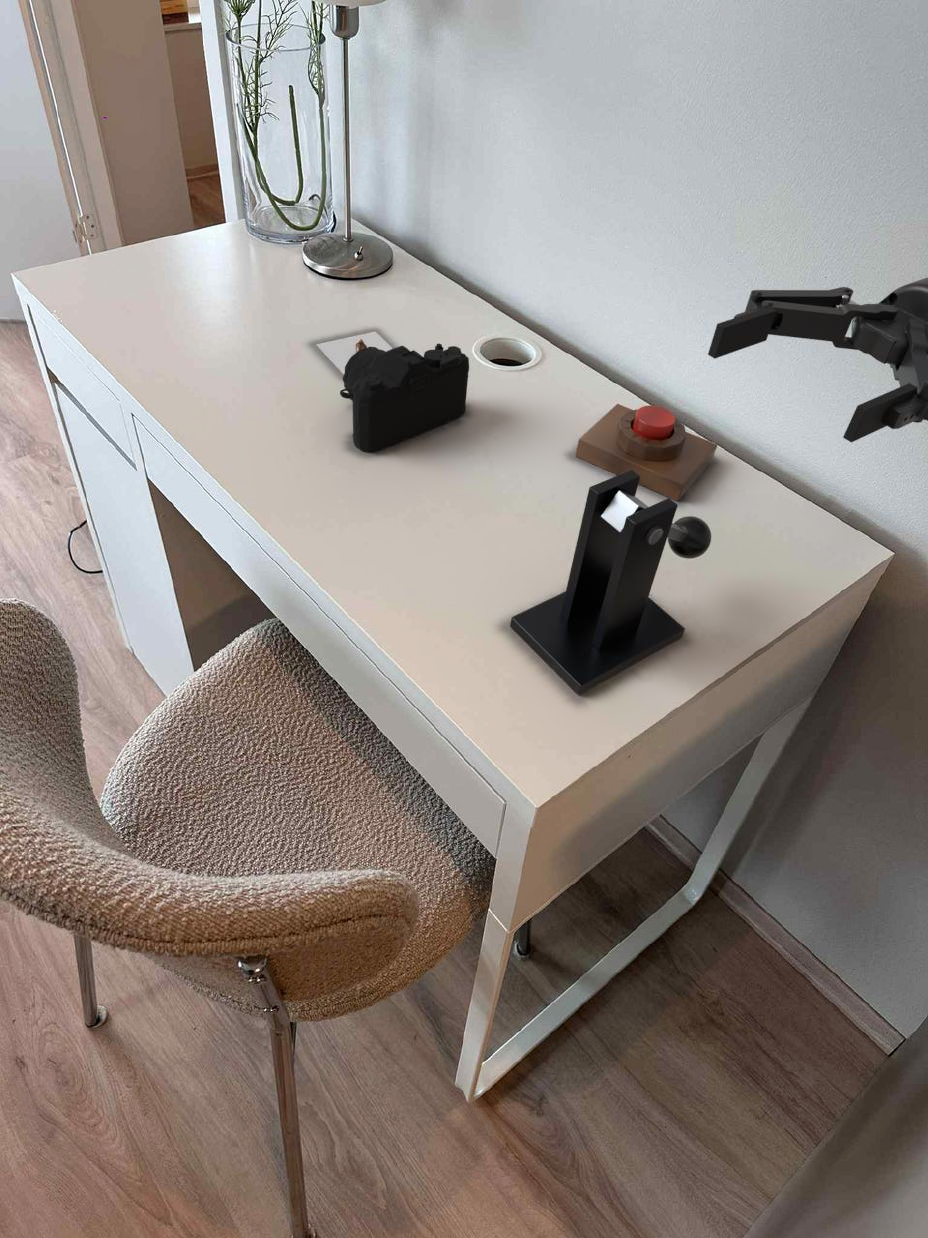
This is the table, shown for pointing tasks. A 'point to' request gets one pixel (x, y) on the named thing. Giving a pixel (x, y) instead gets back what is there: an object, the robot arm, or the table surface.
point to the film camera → (403, 393)
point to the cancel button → (653, 422)
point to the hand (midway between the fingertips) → (780, 380)
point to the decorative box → (351, 347)
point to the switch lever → (684, 536)
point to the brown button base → (646, 453)
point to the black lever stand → (605, 594)
